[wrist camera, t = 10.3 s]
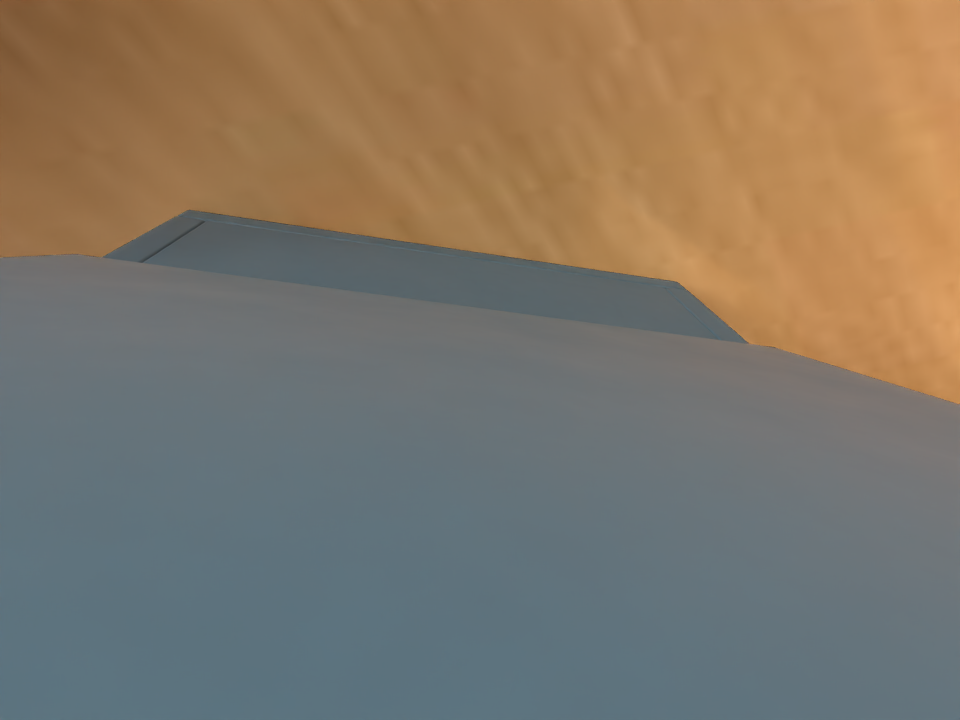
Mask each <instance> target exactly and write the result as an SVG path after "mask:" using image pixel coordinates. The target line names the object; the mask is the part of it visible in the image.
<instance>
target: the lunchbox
mask: <svg viewBox="0 0 960 720" xmlns="http://www.w3.org/2000/svg"><path fill="white" fill-rule="evenodd" d="M102 258H109V259H117V260H124V261H132V262H139V263H147V264H154V265H162V266H169V267H177V268H184V269H192V270H199V271H206V272H214V273H221V274H229V275H236V276H244V277H251V278H259V279H266V280H274V281H281V282H289V283H296V284H304V285H311V286H319V287H326V288H334V289H341V290H349V291H356V292H364V293H371V294H378V295H386V296H393V297H401V298H408V299H416V300H423V301H431V302H438V303H446V304H453V305H461V306H468V307H476V308H483V309H491V310H498V311H506V312H513V313H521V314H528V315H536V316H543V317H550V318H558V319H565V320H573V321H580V322H588V323H595V324H603V325H610V326H618V327H625V328H633V329H640V330H648V331H655V332H663V333H670V334H678V335H685V336H693V337H700V338H708V339H715V340H722V341H730V342H737V343H745V344H749V343H748V342H747V341H745V340H744V339H743V338H742V337H741V336H740V335H738V334H737V333H736V332H735V331H734V330H733V329H732V328H730V327H729V326H728V325H727V324H726V323H725V322H723V321H722V320H721V319H720V318H719V317H718V316H717V315H715V314H714V313H713V312H712V311H711V310H710V309H709V308H707V307H706V306H705V305H704V304H703V303H702V302H700V301H699V300H698V299H697V298H696V297H695V296H694V295H692V294H691V293H690V292H689V291H688V290H686V289H685V288H684V287H683V286H681V285H680V284H679V283H678V282H674V281H667V280H661V279H654V278H647V277H640V276H634V275H627V274H620V273H613V272H606V271H600V270H593V269H586V268H579V267H573V266H566V265H559V264H552V263H545V262H539V261H532V260H525V259H518V258H512V257H505V256H498V255H491V254H484V253H478V252H471V251H464V250H457V249H451V248H444V247H437V246H430V245H424V244H417V243H410V242H403V241H396V240H390V239H383V238H376V237H369V236H363V235H356V234H349V233H342V232H335V231H329V230H322V229H315V228H308V227H302V226H295V225H288V224H281V223H274V222H268V221H261V220H254V219H247V218H241V217H234V216H227V215H220V214H213V213H207V212H200V211H193V210H187V211H185V212H183V213H182V214H180V215H178V216H176V217H174V218H172V219H170V220H168V221H167V222H165V223H163V224H161V225H159V226H158V227H156V228H154V229H152V230H150V231H148V232H147V233H145V234H143V235H141V236H139V237H138V238H136V239H134V240H132V241H130V242H129V243H127V244H125V245H123V246H121V247H120V248H118V249H116V250H114V251H112V252H111V253H109V254H107V255H105V256H103V257H102Z"/></svg>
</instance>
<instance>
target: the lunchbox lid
mask: <svg viewBox="0 0 960 720" xmlns="http://www.w3.org/2000/svg"><path fill="white" fill-rule="evenodd" d="M0 720H960V404H956V403H953V402H950V401H947V400H943V399H940V398H937V397H934V396H930V395H927V394H924V393H921V392H917V391H914V390H911V389H908V388H904V387H901V386H898V385H895V384H891V383H888V382H885V381H882V380H878V379H875V378H872V377H869V376H865V375H862V374H859V373H856V372H852V371H849V370H846V369H843V368H839V367H836V366H833V365H830V364H827V363H823V362H820V361H817V360H814V359H810V358H807V357H804V356H801V355H797V354H794V353H791V352H788V351H784V350H781V349H778V348H775V347H767V346H760V345H752V344H745V343H737V342H730V341H722V340H715V339H708V338H700V337H693V336H685V335H678V334H670V333H663V332H655V331H648V330H640V329H633V328H625V327H618V326H610V325H603V324H595V323H588V322H580V321H573V320H565V319H558V318H550V317H543V316H536V315H528V314H521V313H513V312H506V311H498V310H491V309H483V308H476V307H468V306H461V305H453V304H446V303H438V302H431V301H423V300H416V299H408V298H401V297H393V296H386V295H378V294H371V293H364V292H356V291H349V290H341V289H334V288H326V287H319V286H311V285H304V284H296V283H289V282H281V281H274V280H266V279H259V278H251V277H244V276H236V275H229V274H221V273H214V272H206V271H199V270H192V269H184V268H177V267H169V266H162V265H154V264H147V263H139V262H132V261H124V260H117V259H109V258H102V257H94V256H87V255H79V254H64V255H44V256H23V257H3V258H0Z"/></svg>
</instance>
